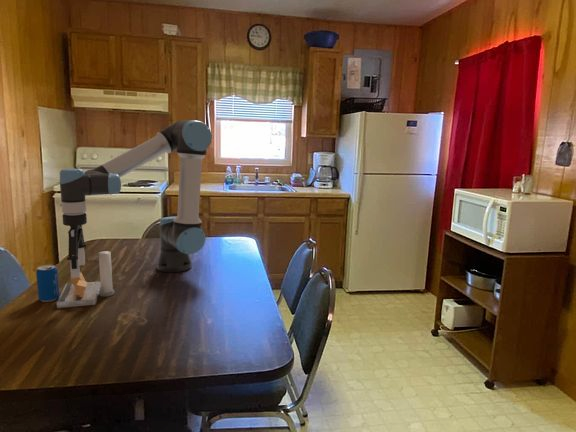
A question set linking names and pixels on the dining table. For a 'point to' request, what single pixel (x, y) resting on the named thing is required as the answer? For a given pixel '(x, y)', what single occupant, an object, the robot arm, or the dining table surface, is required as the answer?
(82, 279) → the paddle
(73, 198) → the robot arm
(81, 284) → the paddle
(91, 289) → the breaker plate
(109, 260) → the white rounded smooth part
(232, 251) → the dining table surface
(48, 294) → the beverage can
